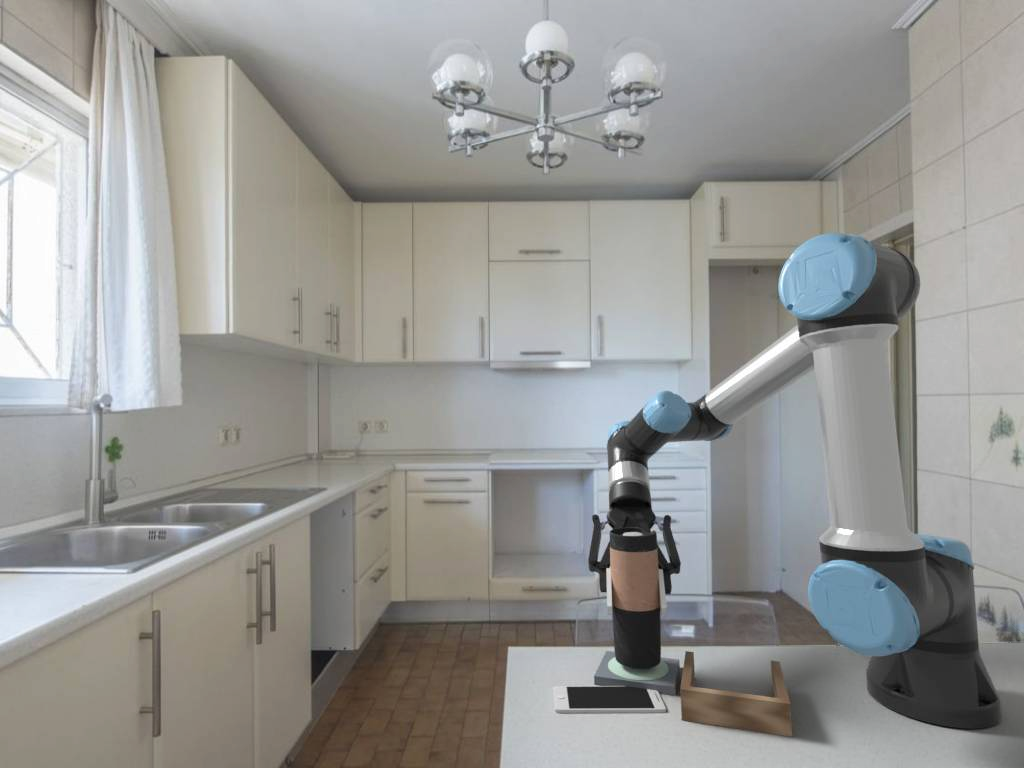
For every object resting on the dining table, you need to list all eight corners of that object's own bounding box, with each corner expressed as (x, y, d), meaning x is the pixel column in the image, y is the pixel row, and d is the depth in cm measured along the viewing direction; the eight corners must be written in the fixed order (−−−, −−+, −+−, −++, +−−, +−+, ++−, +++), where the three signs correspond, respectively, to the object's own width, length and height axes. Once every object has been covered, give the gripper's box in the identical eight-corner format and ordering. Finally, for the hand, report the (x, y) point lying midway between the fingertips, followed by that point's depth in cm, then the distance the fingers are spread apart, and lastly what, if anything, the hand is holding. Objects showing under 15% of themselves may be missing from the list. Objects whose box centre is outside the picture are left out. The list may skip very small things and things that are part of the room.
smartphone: (553, 691, 85) (553, 685, 85) (655, 691, 84) (655, 684, 84) (554, 716, 78) (554, 709, 78) (666, 715, 77) (666, 708, 77)
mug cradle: (781, 689, 83) (779, 661, 83) (792, 736, 71) (790, 704, 71) (686, 677, 88) (685, 651, 88) (681, 719, 75) (680, 689, 75)
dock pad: (679, 667, 91) (679, 658, 91) (675, 695, 82) (674, 685, 82) (606, 658, 95) (606, 649, 95) (594, 684, 86) (594, 674, 86)
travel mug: (614, 668, 86) (609, 536, 87) (612, 648, 93) (608, 527, 95) (665, 670, 85) (659, 536, 86) (659, 650, 92) (654, 527, 94)
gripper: (685, 504, 104) (703, 625, 87) (575, 504, 107) (572, 620, 90) (687, 478, 99) (707, 601, 82) (572, 479, 102) (568, 597, 85)
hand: (636, 611), depth 86 cm, fingers closed on travel mug, 7 cm apart
